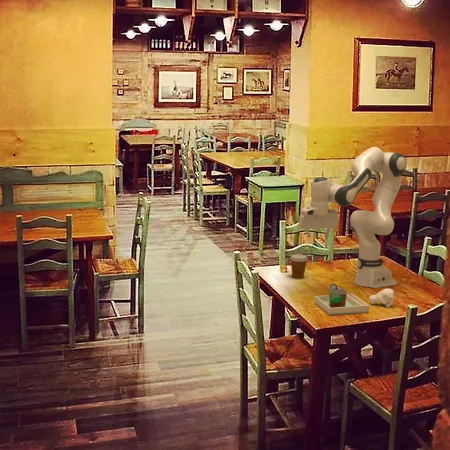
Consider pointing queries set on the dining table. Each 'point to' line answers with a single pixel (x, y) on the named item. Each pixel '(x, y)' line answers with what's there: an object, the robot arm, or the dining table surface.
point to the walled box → (351, 307)
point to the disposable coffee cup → (298, 265)
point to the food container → (337, 296)
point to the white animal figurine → (383, 297)
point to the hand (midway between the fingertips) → (317, 236)
